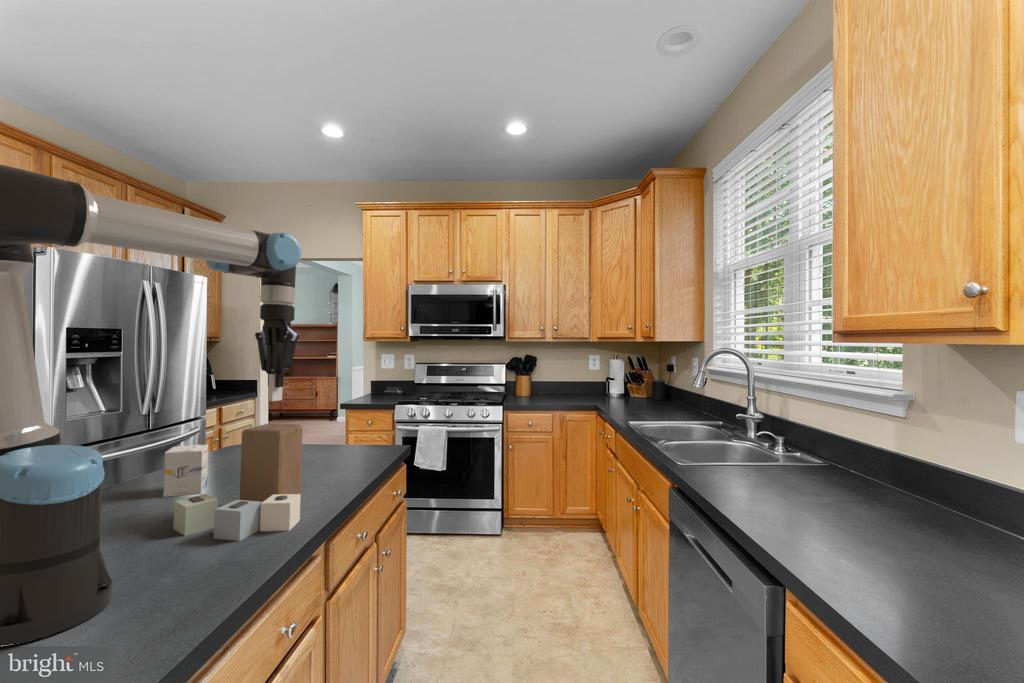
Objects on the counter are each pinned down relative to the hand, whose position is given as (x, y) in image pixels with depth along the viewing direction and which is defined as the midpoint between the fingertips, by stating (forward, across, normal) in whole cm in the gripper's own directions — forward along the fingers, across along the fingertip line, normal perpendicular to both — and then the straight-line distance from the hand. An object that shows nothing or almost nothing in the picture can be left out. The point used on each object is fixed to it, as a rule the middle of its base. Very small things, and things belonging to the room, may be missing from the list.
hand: (275, 400), depth 109 cm
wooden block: (+27, 0, 0) cm, 27 cm away
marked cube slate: (+26, -7, +13) cm, 30 cm away
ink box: (+27, +32, +1) cm, 42 cm away
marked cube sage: (+26, +4, +15) cm, 31 cm away
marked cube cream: (+26, -11, +6) cm, 29 cm away
